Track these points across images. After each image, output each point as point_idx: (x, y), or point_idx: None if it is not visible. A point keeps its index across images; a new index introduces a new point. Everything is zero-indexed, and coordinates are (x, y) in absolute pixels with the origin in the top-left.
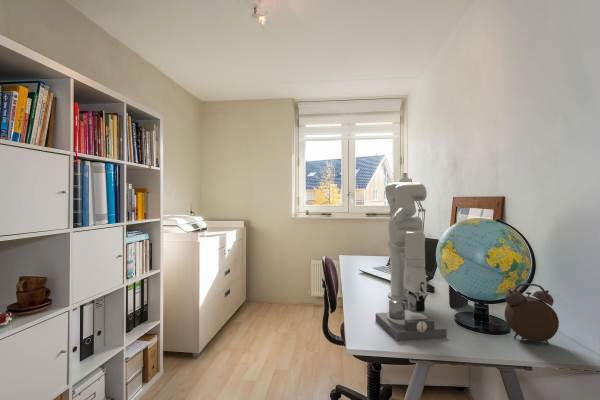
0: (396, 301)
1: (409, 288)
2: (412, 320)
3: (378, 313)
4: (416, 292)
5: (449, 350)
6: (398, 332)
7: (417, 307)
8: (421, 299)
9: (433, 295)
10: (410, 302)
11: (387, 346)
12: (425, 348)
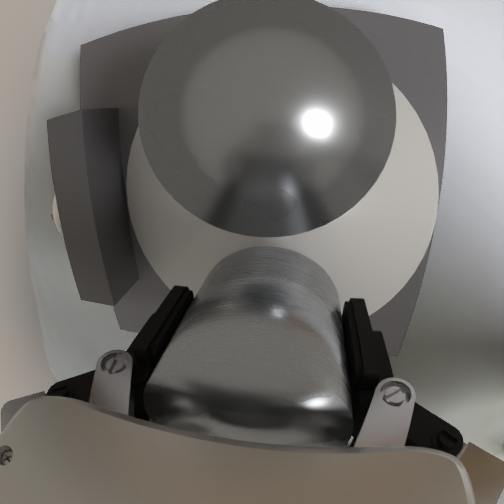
0: (271, 109)
1: (170, 476)
2: (73, 165)
3: (438, 46)
4: (28, 405)
5: (46, 240)
6: (80, 54)
7: (162, 308)
8: (82, 377)
9: (496, 443)
10: (216, 300)
11: (79, 6)
12: (49, 158)
